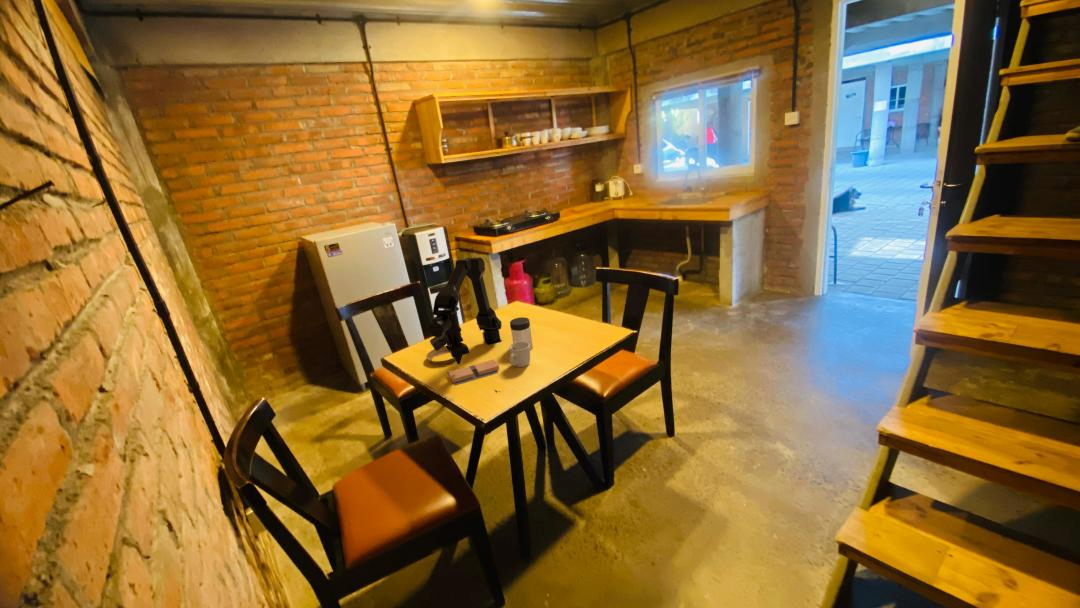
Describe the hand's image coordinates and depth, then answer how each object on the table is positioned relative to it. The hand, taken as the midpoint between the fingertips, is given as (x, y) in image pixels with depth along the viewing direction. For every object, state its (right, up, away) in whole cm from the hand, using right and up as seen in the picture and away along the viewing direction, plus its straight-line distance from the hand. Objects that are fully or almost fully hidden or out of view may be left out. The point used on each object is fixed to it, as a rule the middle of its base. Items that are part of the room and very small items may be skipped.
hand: (458, 363), depth 171 cm
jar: (+24, +4, +19) cm, 31 cm away
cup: (+23, -2, +4) cm, 23 cm away
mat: (+5, -4, +2) cm, 7 cm away
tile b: (0, -3, +3) cm, 4 cm away
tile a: (+9, -1, +6) cm, 11 cm away
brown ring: (-9, 0, +18) cm, 20 cm away
